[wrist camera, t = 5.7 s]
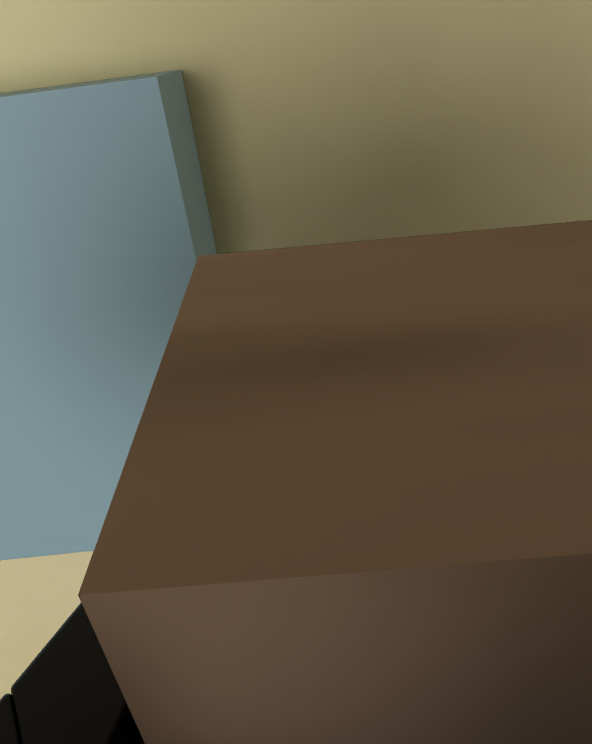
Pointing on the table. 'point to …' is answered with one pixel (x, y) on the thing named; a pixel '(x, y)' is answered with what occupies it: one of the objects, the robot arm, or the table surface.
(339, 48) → the table surface
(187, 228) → the teal base box
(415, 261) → the walnut block
